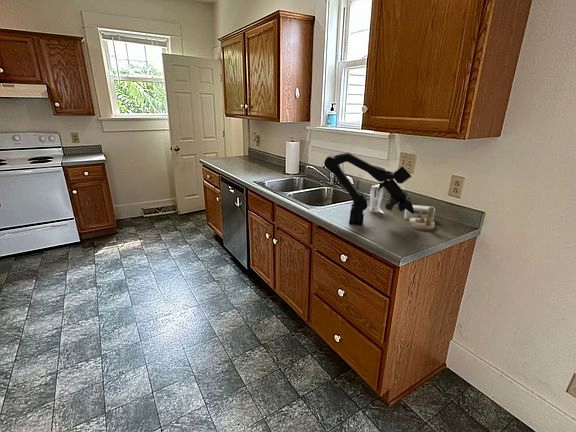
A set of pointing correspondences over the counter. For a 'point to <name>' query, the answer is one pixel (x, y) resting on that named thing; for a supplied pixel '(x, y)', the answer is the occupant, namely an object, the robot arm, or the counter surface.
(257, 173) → the counter surface
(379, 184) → the robot arm
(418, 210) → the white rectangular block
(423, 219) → the cam dial
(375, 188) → the beer glass
